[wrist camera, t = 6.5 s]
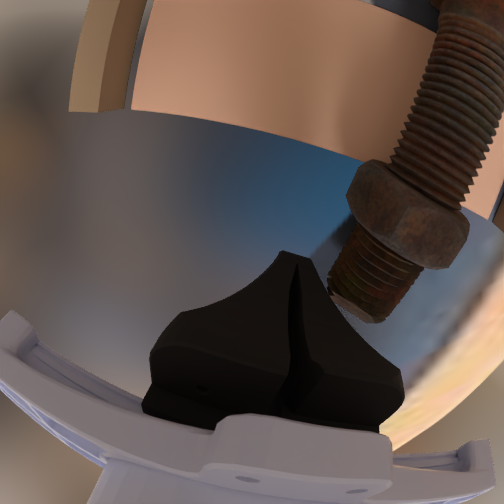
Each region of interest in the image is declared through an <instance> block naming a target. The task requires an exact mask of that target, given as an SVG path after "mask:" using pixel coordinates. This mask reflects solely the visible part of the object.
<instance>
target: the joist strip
mask: <svg viewBox="0 0 504 504" xmlns="http://www.w3.org/2000/svg"><path fill="white" fill-rule="evenodd" d="M146 2H147V0H90V1H89V5H88V8H87V11H86V15H85V19H84V22H83V27H82V30H81V35H80V39H79V44H78V48H77V53H76V59H75V65H74V71H73V78H72V85H71V93H70V103H69V111H73V112H104V111H111V110H118V109H124V106H125V99H126V92H127V85H128V79H129V73H130V68H131V63H132V58H133V53H134V48H135V44H136V39H137V35H138V31H139V27H140V23H141V20H142V16H143V12H144V9H145V5H146ZM436 36H437V34H436V33H434V32H432V31H431V30H429V29H427V28H425V27H423V26H421V25H419V24H417V23H415V22H413V21H410V20H408V19H406V18H404V17H402V16H399V15H397V14H395V13H392V12H390V11H387V10H385V9H382V8H380V7H377V6H374V5H371V4H369V3H365V2H363V1H359V0H154V3H153V6H152V10H151V14H150V17H149V21H148V25H147V29H146V33H145V36H144V41H143V45H142V49H141V54H140V59H139V64H138V69H137V75H136V80H135V86H134V92H133V99H132V106H131V109H132V110H142V111H151V112H160V113H169V114H176V115H182V116H189V117H195V118H201V119H207V120H212V121H218V122H223V123H228V124H233V125H237V126H242V127H247V128H251V129H255V130H260V131H264V132H268V133H272V134H276V135H279V136H283V137H287V138H291V139H295V140H298V141H301V142H305V143H308V144H311V145H315V146H318V147H321V148H324V149H327V150H331V151H334V152H337V153H340V154H343V155H346V156H349V157H351V158H354V159H357V160H360V161H362V162H367V161H369V160H371V159H375V160H380V161H383V162H385V163H387V164H389V163H392V161H391V159H390V156H391V155H396V153H395V151H394V149H393V148H394V147H399V146H400V145H399V143H398V141H397V139H402V138H403V136H402V134H401V132H400V131H401V130H407V129H406V127H405V125H404V122H410V121H409V119H408V117H407V115H408V114H410V113H413V112H412V110H411V109H410V107H411V106H412V105H416V104H415V103H414V97H419V96H418V95H417V93H416V92H417V89H421V87H420V85H419V84H420V82H421V81H424V80H423V78H422V75H423V74H424V73H426V71H425V67H426V66H427V65H428V58H430V53H431V51H432V50H433V49H432V46H433V44H434V40H435V38H436ZM494 129H495V130H496V133H497V134H496V136H492V139H493V143H492V144H487V145H488V147H489V149H490V151H489V152H483V153H484V155H485V157H486V160H482V161H480V163H481V165H482V168H480V169H476V171H477V173H478V175H479V176H478V177H472V179H473V182H474V185H470V186H468V187H469V190H470V193H469V194H464V196H465V199H466V202H460V204H461V205H462V206H464V207H466V208H468V209H469V210H471V211H473V212H475V213H477V214H478V215H480V216H482V217H484V218H485V219H487V220H488V218H489V215H490V213H491V211H492V208H493V206H494V204H495V201H496V199H497V196H498V194H499V191H500V189H501V186H502V183H503V180H504V112H503V113H502V118H501V120H499V128H494ZM493 223H494V224H495V225H496V226H497V227H498V228H499V229H500V230H502V231H503V232H504V196H503V199H502V201H501V203H500V206H499V208H498V211H497V213H496V215H495V217H494V220H493Z"/></svg>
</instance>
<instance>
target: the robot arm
mask: <svg viewBox="0 0 504 504" xmlns="http://www.w3.org/2000/svg"><path fill="white" fill-rule="evenodd" d="M149 362H150V371H151V380H152V384H151V386H150V388H149V390H148V391H147V393H146V395H145V397H144V399H142V398H140V397H137V396H135V395H133V394H131V393H129V392H127V391H125V390H123V389H121V388H119V387H117V386H114V385H113V384H111V383H109V382H107V381H105V380H103V379H101V378H99V377H97V376H95V375H94V374H92V373H90V372H88V371H87V370H85V369H83V368H82V367H80V366H78V365H76V364H75V363H73V362H71V361H70V360H68V359H67V358H65V357H63V356H62V355H60V354H59V353H57V352H56V351H54V350H53V349H51V348H50V347H48V346H47V345H45V344H44V343H42V342H41V341H40V340H39V338H38V335H37V332H36V330H35V329H34V327H33V326H32V325H31V324H30V323H29V322H28V321H27V320H26V319H24V318H23V317H22V316H20V315H19V314H18V313H16V312H15V311H14V310H10V311H9V312H8V313H7V314H6V315H5V316H4V318H3V319H2V320H1V321H0V389H1V391H2V392H3V393H4V394H5V395H7V396H8V397H9V398H10V399H11V400H12V401H13V402H14V403H15V404H16V405H17V406H19V407H20V408H21V409H22V410H23V411H24V412H25V413H27V414H28V415H29V416H30V417H31V418H33V419H34V420H35V421H36V422H37V423H39V424H40V425H41V426H42V427H43V428H45V429H46V430H47V431H49V432H50V433H51V434H53V435H54V436H55V437H57V438H58V439H60V440H61V441H62V442H63V443H65V444H66V445H68V446H69V447H71V448H72V449H74V450H75V451H76V452H78V453H80V454H81V455H83V456H84V457H86V458H87V459H89V460H91V461H92V462H94V463H96V464H97V465H99V466H101V467H102V468H104V469H103V472H102V474H101V476H100V478H99V480H98V482H97V484H96V486H95V488H94V490H93V492H92V494H91V496H90V498H89V500H88V502H87V504H460V503H463V502H465V501H467V500H469V499H472V498H473V497H476V496H478V495H480V494H482V493H484V492H486V491H488V490H490V489H492V488H494V487H495V486H496V479H495V471H494V464H493V458H492V452H491V447H490V442H489V439H488V438H484V439H477V440H473V441H470V442H468V443H466V444H465V445H463V446H461V447H460V448H459V449H458V450H453V451H444V452H433V453H417V454H393V453H392V443H391V441H390V439H389V437H387V436H386V435H383V434H379V425H380V424H381V423H383V422H384V421H385V420H386V419H388V418H389V417H390V416H391V415H392V414H394V413H395V412H396V411H397V410H398V409H399V407H400V406H401V405H402V403H403V401H404V399H405V394H404V387H403V381H402V376H401V372H400V369H399V368H397V367H396V366H395V365H393V364H392V363H391V362H389V361H388V360H387V359H385V358H384V357H383V356H381V355H380V354H379V353H378V352H377V351H376V350H374V349H373V348H372V347H371V346H370V345H369V344H368V343H367V342H366V341H365V340H364V339H363V338H362V337H361V336H360V335H359V334H358V333H357V332H356V331H355V330H354V329H353V327H352V326H351V325H350V324H349V323H348V322H347V320H346V319H345V318H344V316H343V315H342V314H341V312H340V311H339V310H338V308H337V307H336V305H335V304H334V302H333V301H332V299H331V297H330V296H329V294H328V292H327V291H326V289H325V287H324V285H323V283H322V281H321V279H320V277H319V275H318V273H317V271H316V269H315V266H314V264H313V262H312V260H311V259H310V258H306V257H303V256H300V255H296V254H293V253H290V252H286V251H280V252H279V254H278V256H277V258H276V259H275V260H274V262H273V263H272V264H271V265H270V266H269V268H267V270H266V271H265V272H264V273H262V274H261V275H260V276H259V277H258V278H257V279H255V280H254V281H253V282H252V283H250V284H249V285H248V286H246V287H245V288H243V289H242V290H240V291H238V292H236V293H235V294H233V295H231V296H230V297H227V298H225V299H223V300H221V301H218V302H216V303H213V304H211V305H208V306H205V307H201V308H197V309H194V310H189V311H185V312H181V313H180V314H178V315H177V317H175V319H174V320H173V321H172V322H171V323H170V324H169V325H168V326H167V327H166V329H165V330H164V331H163V332H162V334H161V335H160V337H159V338H158V340H157V342H156V343H155V345H154V347H153V349H152V350H151V352H150V358H149Z"/></svg>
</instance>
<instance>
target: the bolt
mask: <svg viewBox="0 0 504 504" xmlns="http://www.w3.org/2000/svg"><path fill="white" fill-rule="evenodd" d="M430 3H431V6H433V7H435V8H436V9H438V10H439V11H440V14H439V18H438V24H439V27H438V30H437V36H436V38H435V40H434V44H433V46H432V49H433V50H432V51H431V53H430V58H428V65H427V66H426V67H425V71H426V73H424V74H423V75H422V78H423V80H424V81H421V82H420V84H419V85H420V87H421V89H417V92H416V93H417V95H418V96H419V97H414V103H415V104H416V105H412V106H411V107H410V109H411V110H412V112H413V113H410V114H408V115H407V117H408V119H409V121H410V122H404V125H405V127H406V129H407V130H401V131H400V132H401V134H402V136H403V138H402V139H397V141H398V143H399V145H400V146H399V147H394V148H393V149H394V151H395V153H396V155H391V156H390V159H391V161H392V163H389V164H387V163H385V162H383V161H380V160H375V159H371V160H369V161H367V162H365V163H364V164H362V165H361V166H360V167H358V170H357V172H356V174H355V176H354V179H353V181H352V183H351V185H350V187H349V189H348V191H347V194H346V198H347V201H348V204H349V207H350V210H351V212H352V213H353V215H354V216H355V218H356V219H357V220H358V224H357V225H355V227H354V231H353V232H352V233H351V234H350V238H349V239H348V240H347V242H346V245H345V246H344V247H343V249H342V252H341V253H340V254H339V257H338V259H337V260H336V261H335V264H334V265H333V266H332V268H331V270H330V271H329V272H328V276H329V277H330V278H327V282H328V285H329V286H328V287H327V290H328V293H329V296H330V297H331V299H332V301H334V302H335V303H337V304H338V305H339V306H341V307H342V308H344V309H345V310H347V311H348V312H350V313H351V314H353V315H355V316H356V317H358V318H359V319H361V320H362V321H364V322H366V323H380V322H383V321H384V320H386V319H385V318H386V317H387V316H389V315H390V313H391V312H392V311H393V309H394V308H395V307H396V305H397V304H398V303H400V300H401V299H402V298H403V297H404V295H405V294H406V293H407V291H408V290H409V289H410V286H411V285H413V284H414V281H415V279H417V278H418V276H419V275H420V272H421V271H423V270H424V267H426V268H429V269H436V270H438V269H444V268H449V266H450V265H451V263H452V262H453V260H454V259H455V257H456V256H457V254H458V253H459V251H460V250H461V248H462V247H463V245H464V244H465V242H466V240H467V237H468V233H469V227H470V224H469V222H468V220H467V218H466V217H465V216H464V215H463V214H462V213H461V212H460V211H459V210H461V204H460V202H466V199H465V196H464V194H469V193H470V190H469V187H468V186H470V185H474V182H473V179H472V177H478V176H479V175H478V173H477V171H476V169H480V168H482V165H481V163H480V161H482V160H486V157H485V155H484V153H483V152H489V151H490V149H489V147H488V145H487V144H492V143H493V139H492V136H496V134H497V133H496V130H495V129H494V128H499V120H501V118H502V113H503V112H504V0H430Z"/></svg>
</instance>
